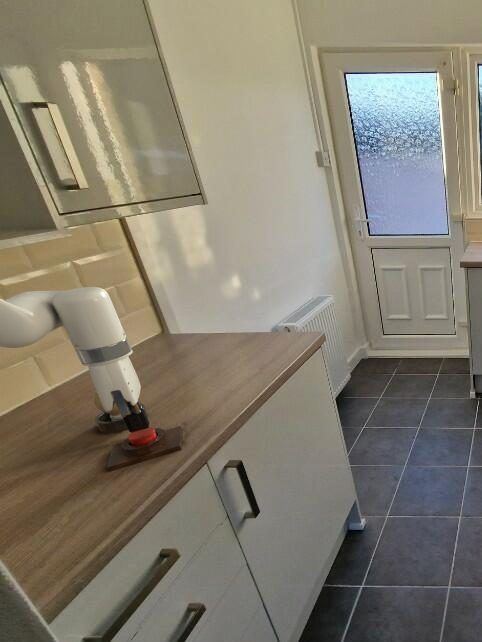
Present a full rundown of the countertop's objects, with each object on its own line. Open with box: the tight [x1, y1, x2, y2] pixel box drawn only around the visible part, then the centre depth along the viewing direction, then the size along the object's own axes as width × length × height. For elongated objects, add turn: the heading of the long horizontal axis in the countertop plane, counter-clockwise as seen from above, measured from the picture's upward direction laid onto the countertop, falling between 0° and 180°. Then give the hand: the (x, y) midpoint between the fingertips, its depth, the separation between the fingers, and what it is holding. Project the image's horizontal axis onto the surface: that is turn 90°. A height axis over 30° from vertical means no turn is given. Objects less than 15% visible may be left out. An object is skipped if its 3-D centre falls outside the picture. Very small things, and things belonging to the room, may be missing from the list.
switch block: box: [105, 425, 184, 473], centre depth 89 cm, size 12×9×3 cm
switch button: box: [127, 426, 157, 446], centre depth 89 cm, size 4×4×2 cm
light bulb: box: [93, 392, 123, 421], centre depth 96 cm, size 6×6×10 cm
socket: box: [94, 402, 149, 434], centre depth 97 cm, size 9×9×4 cm
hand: (140, 428), depth 88 cm, fingers closed
